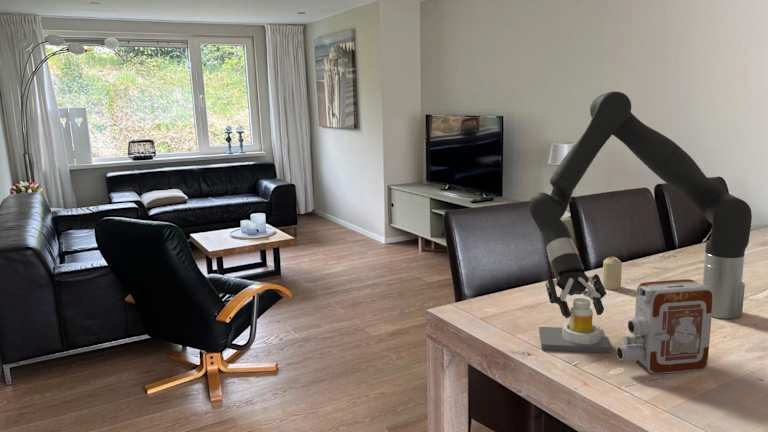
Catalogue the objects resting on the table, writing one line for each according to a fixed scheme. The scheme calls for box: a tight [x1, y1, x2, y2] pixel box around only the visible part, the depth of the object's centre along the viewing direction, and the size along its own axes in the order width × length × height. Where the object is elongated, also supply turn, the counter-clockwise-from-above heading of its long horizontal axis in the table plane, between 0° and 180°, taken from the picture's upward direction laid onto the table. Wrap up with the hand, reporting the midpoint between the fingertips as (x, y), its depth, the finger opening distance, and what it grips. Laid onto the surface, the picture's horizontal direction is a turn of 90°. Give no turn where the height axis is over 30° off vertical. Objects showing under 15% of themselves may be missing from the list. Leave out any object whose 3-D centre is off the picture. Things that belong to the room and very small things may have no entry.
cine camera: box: [616, 278, 713, 375], centre depth 126 cm, size 9×19×20 cm, turn 95°
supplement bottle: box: [569, 297, 594, 333], centre depth 142 cm, size 5×5×10 cm
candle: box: [602, 256, 623, 291], centre depth 181 cm, size 6×6×10 cm
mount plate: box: [538, 321, 611, 354], centre depth 143 cm, size 16×11×4 cm
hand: (584, 315), depth 140 cm, fingers open, 8 cm apart
